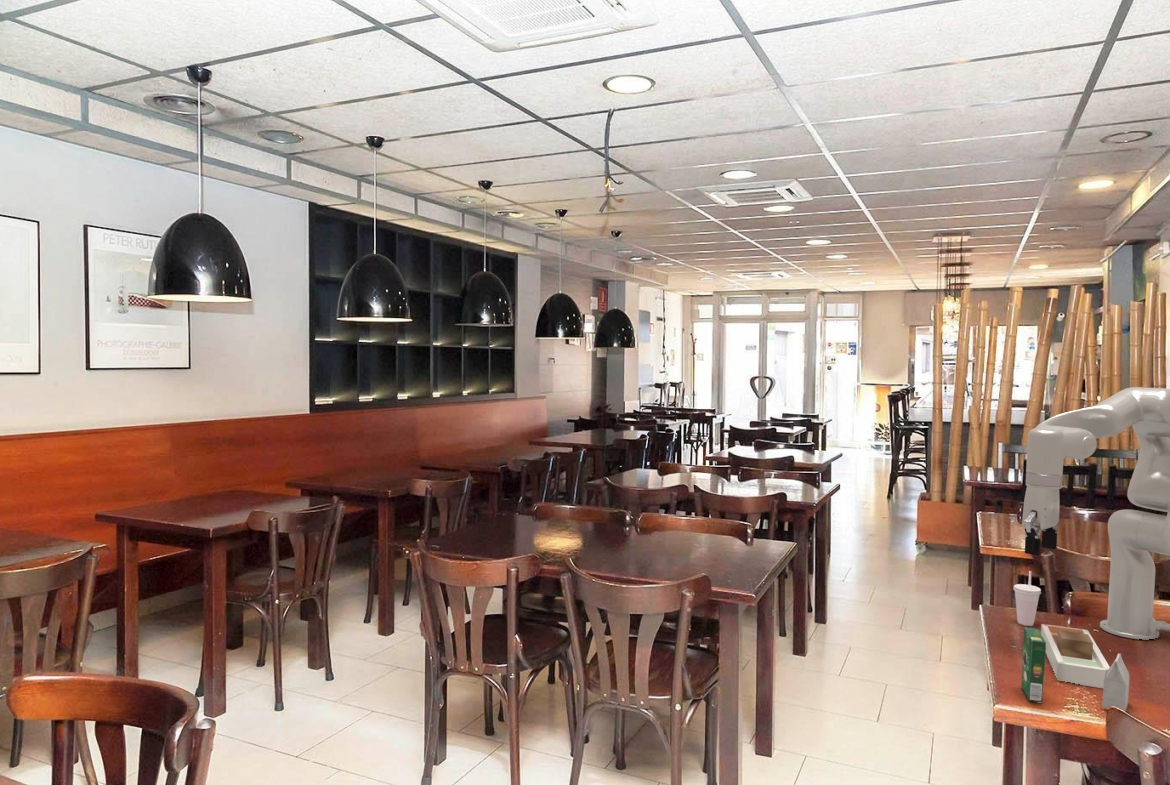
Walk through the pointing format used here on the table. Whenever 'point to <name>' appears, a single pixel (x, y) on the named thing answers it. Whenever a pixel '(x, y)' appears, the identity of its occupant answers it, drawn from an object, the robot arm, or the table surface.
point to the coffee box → (1033, 664)
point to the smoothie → (1026, 602)
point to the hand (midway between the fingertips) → (1040, 551)
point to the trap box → (1074, 660)
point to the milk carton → (1116, 685)
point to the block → (1075, 645)
